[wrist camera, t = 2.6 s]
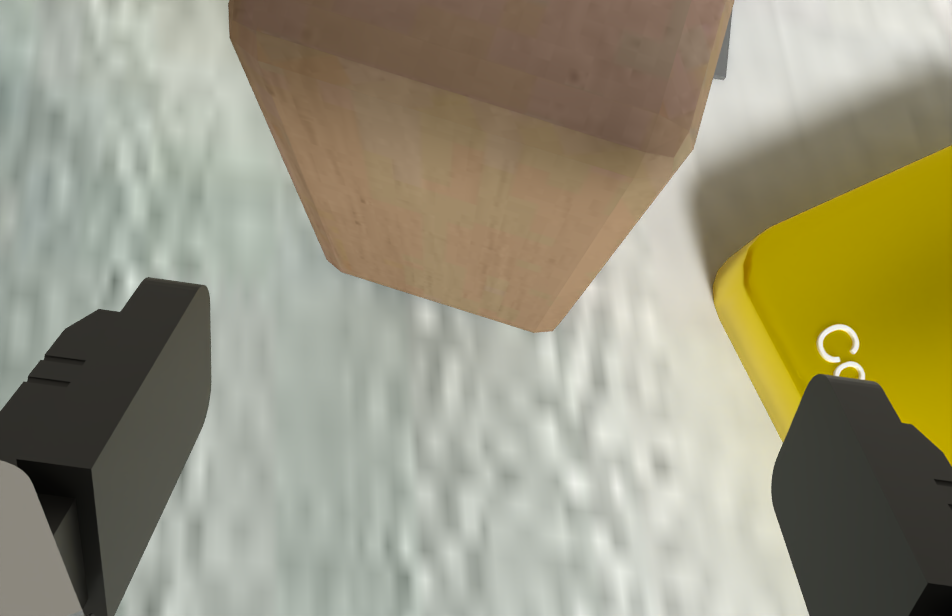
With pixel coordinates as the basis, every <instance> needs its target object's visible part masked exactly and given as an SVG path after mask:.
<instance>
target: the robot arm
mask: <svg viewBox="0 0 952 616" xmlns="http://www.w3.org/2000/svg"><path fill="white" fill-rule="evenodd" d="M210 392H211V333H210V297H209V291H208V289H207V287H206V286H205V285H199V284H192V283H185V282H178V281H171V280H164V279H157V278H150V277H148V278H145V279H144V280H143V281H142V282H141V284H140V285H139V287H138V288H137V289H136V291H135V292H134V294H133V295H132V296H131V298H130V299H129V301H128V302H127V303H126V305H125V306H124V308H123V309H122V310H121V312H116V311H109V310H102V309H98V310H97V311H95V312H93V313H91V314H90V315H88V316H86V317H85V318H83V319H81V320H80V321H78V322H76V323H74V324H73V325H71V326H69V327H68V328H66V329H65V330H64V331H63V332H62V333H61V335H60V336H59V337H58V339H57V340H56V341H55V342H54V344H53V345H52V346H51V347H50V349H49V350H48V351H47V353H46V354H45V358H44V360H40V362H39V363H38V364H37V365H36V367H35V368H34V369H33V370H32V372H31V373H30V374H29V376H28V381H27V382H23V383H22V384H21V386H20V387H19V388H18V390H17V391H16V392H15V393H14V395H13V396H12V397H11V399H10V400H9V401H8V402H7V404H6V405H5V406H4V407H3V409H2V410H1V411H0V616H114V615H115V613H116V611H117V609H118V606H119V604H120V602H121V600H122V598H123V596H124V594H125V591H126V589H127V587H128V585H129V583H130V581H131V579H132V577H133V574H134V572H135V570H136V568H137V566H138V564H139V562H140V559H141V557H142V555H143V553H144V551H145V549H146V547H147V545H148V542H149V540H150V538H151V536H152V534H153V532H154V530H155V527H156V525H157V523H158V521H159V519H160V517H161V515H162V512H163V510H164V508H165V506H166V504H167V502H168V500H169V498H170V495H171V493H172V491H173V489H174V487H175V485H176V483H177V480H178V478H179V476H180V474H181V472H182V470H183V468H184V466H185V463H186V461H187V459H188V457H189V455H190V453H191V451H192V448H193V446H194V444H195V442H196V440H197V438H198V436H199V434H200V431H201V429H202V427H203V424H204V421H205V418H206V414H207V410H208V405H209V400H210ZM771 493H772V502H773V507H774V510H775V513H776V516H777V519H778V522H779V525H780V528H781V531H782V534H783V537H784V540H785V543H786V546H787V549H788V552H789V555H790V558H791V561H792V564H793V567H794V570H795V573H796V576H797V579H798V582H799V585H800V588H801V591H802V594H803V597H804V600H805V603H806V606H807V609H808V612H809V615H810V616H952V466H951V465H950V463H949V461H948V460H947V458H946V456H945V455H944V453H943V452H942V451H941V450H940V449H939V448H938V447H937V446H935V445H934V444H933V443H932V442H931V441H930V440H929V439H928V438H927V437H926V436H924V435H923V434H922V433H921V432H920V431H919V430H918V429H917V428H916V427H915V426H913V425H912V424H906V423H902V422H901V420H900V419H899V417H898V415H897V413H896V411H895V410H894V408H893V406H892V404H891V403H890V401H889V399H888V397H887V396H886V394H885V392H884V390H883V389H882V387H881V386H880V385H879V384H878V383H877V382H874V381H868V380H861V379H854V378H847V377H840V376H833V375H826V374H817V375H815V376H814V377H813V378H812V379H811V380H810V382H809V383H808V385H807V387H806V389H805V392H804V394H803V396H802V399H801V401H800V404H799V406H798V408H797V411H796V413H795V416H794V418H793V420H792V423H791V425H790V428H789V430H788V432H787V435H786V437H785V440H784V442H783V445H782V447H781V449H780V452H779V454H778V457H777V459H776V462H775V465H774V469H773V475H772V486H771Z"/></svg>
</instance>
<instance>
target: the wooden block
mask: <svg viewBox="0 0 952 616" xmlns="http://www.w3.org/2000/svg"><path fill="white" fill-rule="evenodd" d="M733 4H734V0H230V1H229V3H228V7H229V31H230V39H231V42H232V44H233V46H234V49H235V51H236V53H237V55H238V58H239V60H240V62H241V65H242V67H243V69H244V71H245V74H246V76H247V78H248V81H249V83H250V85H251V87H252V90H253V92H254V94H255V97H256V99H257V101H258V103H259V106H260V108H261V110H262V113H263V115H264V117H265V119H266V122H267V124H268V126H269V129H270V131H271V133H272V135H273V138H274V140H275V142H276V145H277V147H278V149H279V151H280V154H281V156H282V158H283V161H284V163H285V165H286V167H287V170H288V172H289V174H290V177H291V179H292V181H293V183H294V186H295V188H296V190H297V193H298V195H299V197H300V199H301V202H302V204H303V206H304V209H305V211H306V213H307V215H308V218H309V220H310V222H311V225H312V227H313V229H314V231H315V234H316V236H317V238H318V241H319V243H320V245H321V247H322V250H323V252H324V254H325V257H326V259H327V260H328V261H329V262H330V263H331V264H332V265H334V266H335V267H336V268H337V269H338V270H340V271H341V272H343V273H346V274H349V275H353V276H356V277H359V278H362V279H365V280H368V281H372V282H375V283H378V284H381V285H384V286H387V287H391V288H394V289H397V290H400V291H403V292H406V293H410V294H413V295H416V296H419V297H422V298H425V299H429V300H432V301H435V302H438V303H441V304H445V305H448V306H451V307H454V308H457V309H460V310H464V311H467V312H470V313H473V314H476V315H479V316H483V317H486V318H489V319H492V320H495V321H498V322H502V323H505V324H508V325H511V326H514V327H517V328H521V329H524V330H527V331H530V332H533V333H535V332H548V331H553V330H554V329H555V328H556V327H557V325H558V324H559V323H560V322H561V321H562V319H563V318H564V317H565V316H566V314H567V313H568V312H569V310H570V309H571V308H572V307H573V305H574V304H575V303H576V301H577V300H578V299H579V297H580V296H581V295H582V294H583V292H584V291H585V290H586V288H587V287H588V286H589V284H590V283H591V282H592V280H593V279H594V278H595V277H596V275H597V274H598V273H599V271H600V270H601V269H602V267H603V266H604V265H605V264H606V262H607V261H608V260H609V258H610V257H611V256H612V254H613V253H614V252H615V250H616V249H617V248H618V247H619V245H620V244H621V243H622V241H623V240H624V239H625V237H626V236H627V235H628V234H629V232H630V231H631V230H632V228H633V227H634V226H635V224H636V223H637V222H638V220H639V219H640V218H641V217H642V215H643V214H644V213H645V211H646V210H647V209H648V207H649V206H650V205H651V203H652V202H653V201H654V200H655V198H656V197H657V196H658V194H659V193H660V192H661V190H662V189H663V188H664V187H665V185H666V184H667V183H668V181H669V180H670V179H671V177H672V176H673V175H674V173H675V172H676V171H677V170H678V168H679V167H680V166H681V164H682V163H683V162H684V160H685V159H686V158H687V157H688V155H689V154H690V153H691V151H692V150H693V149H694V145H695V141H696V138H697V134H698V130H699V127H700V123H701V120H702V116H703V112H704V109H705V105H706V101H707V98H708V94H709V91H710V87H711V83H712V80H713V76H714V72H715V69H716V65H717V62H718V58H719V54H720V51H721V47H722V44H723V40H724V36H725V33H726V29H727V25H728V22H729V18H730V15H731V11H732V7H733Z"/></svg>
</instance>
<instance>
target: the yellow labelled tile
mask: <svg viewBox="0 0 952 616" xmlns="http://www.w3.org/2000/svg"><path fill="white" fill-rule="evenodd" d="M713 297H714V305H715V308H716V311H717V314H718V317H719V319H720V321H721V323H722V325H723V327H724V329H725V331H726V333H727V335H728V337H729V339H730V341H731V343H732V345H733V347H734V349H735V350H736V352H737V354H738V356H739V358H740V360H741V362H742V364H743V366H744V368H745V370H746V372H747V374H748V376H749V378H750V380H751V382H752V384H753V385H754V387H755V389H756V391H757V393H758V395H759V397H760V399H761V401H762V403H763V405H764V407H765V409H766V411H767V413H768V415H769V417H770V418H771V420H772V422H773V424H774V426H775V428H776V430H777V432H778V434H779V436H780V438H781V440H782V442H784V440H785V437H786V435H787V432H788V430H789V428H790V425H791V423H792V420H793V418H794V416H795V413H796V411H797V408H798V406H799V404H800V401H801V399H802V396H803V394H804V392H805V389H806V387H807V385H808V383H809V382H810V380H811V379H812V378H813V377H814V376H815V375H817V374H826V375H833V376H840V377H847V378H854V379H861V380H868V381H874V382H877V383H878V384H879V385H880V386H881V387H882V389H883V390H884V392H885V394H886V396H887V397H888V399H889V401H890V403H891V404H892V406H893V408H894V410H895V411H896V413H897V415H898V417H899V419H900V420H901V422H902V423H906V424H912V425H913V426H915V427H916V428H917V429H918V430H919V431H920V432H921V433H922V434H923V435H924V436H926V437H927V438H928V439H929V440H930V441H931V442H932V443H933V444H934V445H935V446H937V447H938V448H939V449H940V450H941V451H942V452H943V453H944V455H945V456H946V458H947V460H948V461H949V463H950V465H951V466H952V145H951V146H948V147H946V148H944V149H942V150H939V151H937V152H935V153H933V154H931V155H928V156H926V157H924V158H922V159H919V160H917V161H915V162H913V163H911V164H908V165H906V166H904V167H902V168H900V169H897V170H895V171H893V172H891V173H888V174H886V175H884V176H882V177H880V178H877V179H875V180H873V181H871V182H869V183H866V184H864V185H862V186H860V187H857V188H855V189H853V190H851V191H849V192H846V193H844V194H842V195H840V196H837V197H835V198H833V199H831V200H829V201H826V202H824V203H822V204H820V205H818V206H815V207H813V208H811V209H809V210H806V211H804V212H802V213H800V214H798V215H795V216H793V217H791V218H789V219H786V220H784V221H782V222H780V223H778V224H775V225H773V226H771V227H769V228H768V229H766V230H765V231H763V232H762V233H760V234H759V235H758V236H756V237H755V238H754V239H753V240H751V241H750V242H749V243H747V244H746V245H745V246H744V247H742V248H741V249H740V250H739V251H737V252H736V253H735V254H733V255H732V256H731V257H730V258H728V260H727V261H726V262H725V263H724V264H723V265H722V267H721V268H720V269H719V270H718V271H717V274H716V278H715V281H714V284H713Z"/></svg>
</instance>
